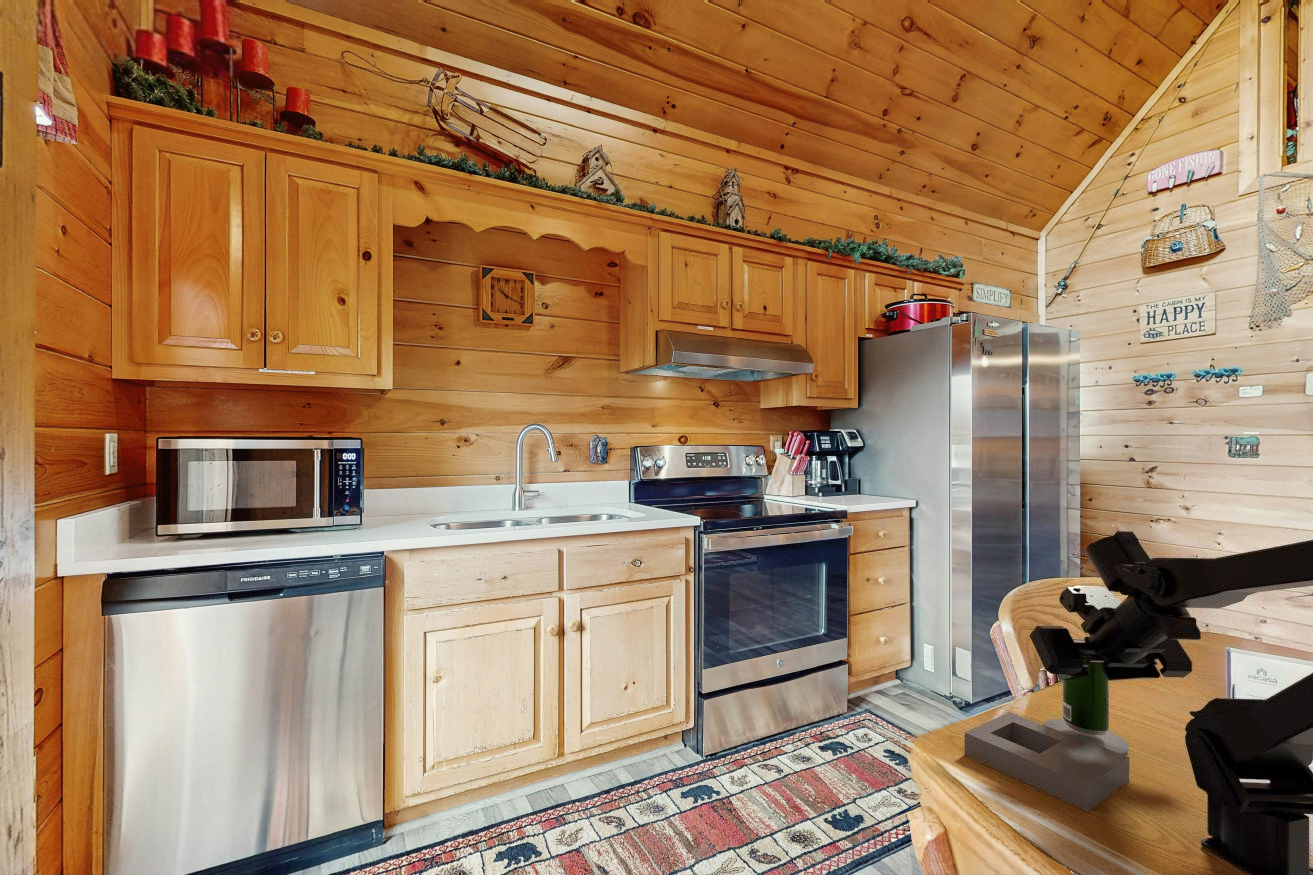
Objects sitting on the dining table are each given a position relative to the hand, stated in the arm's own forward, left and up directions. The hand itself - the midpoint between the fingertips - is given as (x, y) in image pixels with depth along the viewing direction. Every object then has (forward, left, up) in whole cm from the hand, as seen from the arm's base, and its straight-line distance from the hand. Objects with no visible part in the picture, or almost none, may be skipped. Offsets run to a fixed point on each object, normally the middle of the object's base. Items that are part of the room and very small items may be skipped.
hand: (1078, 677), depth 85 cm
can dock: (-5, +13, -8) cm, 17 cm away
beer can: (-1, 0, -7) cm, 7 cm away
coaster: (-1, 0, -8) cm, 8 cm away
